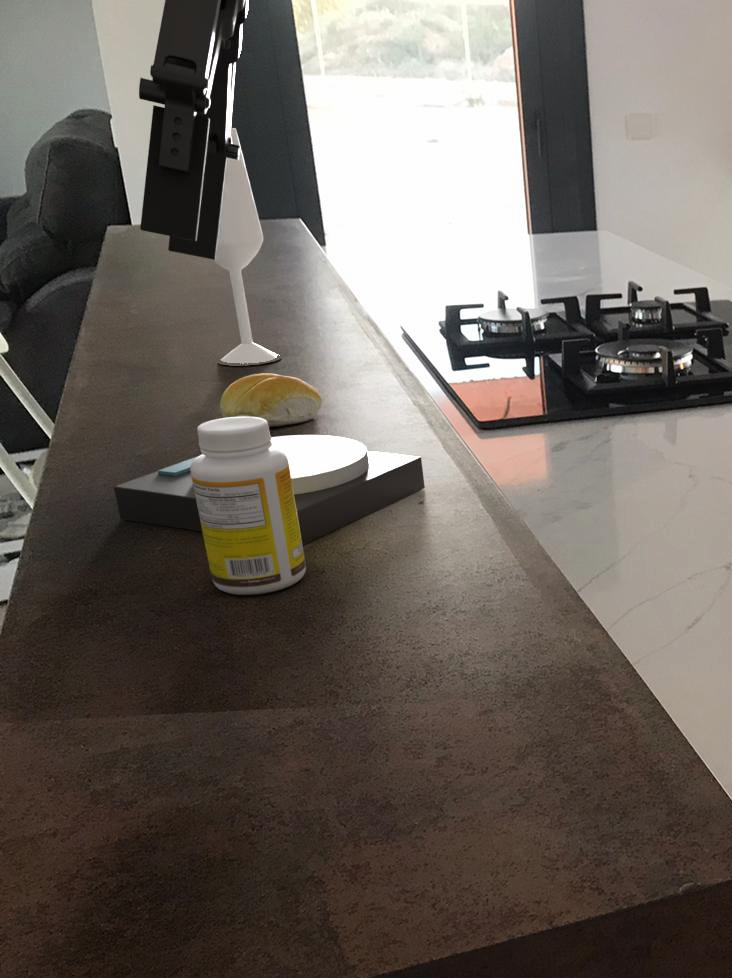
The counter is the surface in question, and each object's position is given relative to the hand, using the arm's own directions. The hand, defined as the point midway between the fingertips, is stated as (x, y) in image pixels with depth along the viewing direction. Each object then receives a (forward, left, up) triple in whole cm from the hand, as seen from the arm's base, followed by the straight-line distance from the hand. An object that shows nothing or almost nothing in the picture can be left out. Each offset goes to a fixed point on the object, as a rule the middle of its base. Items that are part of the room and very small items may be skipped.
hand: (181, 246), depth 76 cm
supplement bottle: (+4, -2, -20) cm, 21 cm away
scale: (-6, +11, -20) cm, 24 cm away
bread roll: (-24, +31, -20) cm, 45 cm away
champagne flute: (-44, +50, -20) cm, 70 cm away
